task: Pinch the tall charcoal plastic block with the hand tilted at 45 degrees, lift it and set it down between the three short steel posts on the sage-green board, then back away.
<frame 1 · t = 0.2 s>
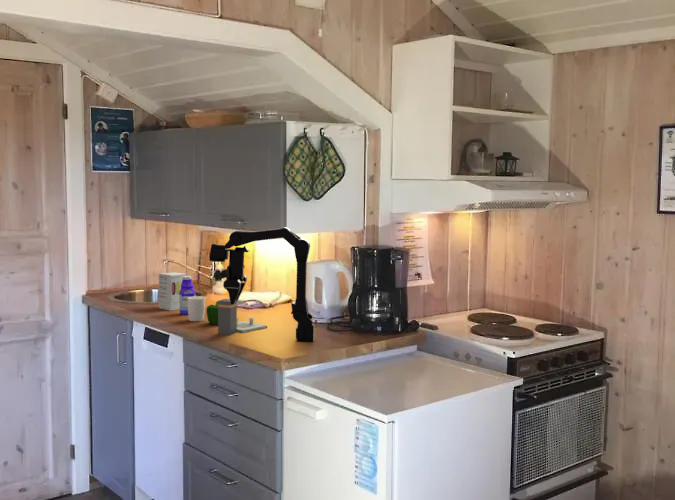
hand: (234, 302, 290), 14 cm above the countertop, tool pointing down, fingers open, 9 cm apart
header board: (243, 327, 311), on the countertop
bottle: (187, 314, 340), on the countertop
supplement box: (172, 308, 353), on the countertop
plug block: (227, 333, 301), on the countertop
white cup: (196, 320, 326), on the countertop
bell pepper: (216, 324, 319), on the countertop
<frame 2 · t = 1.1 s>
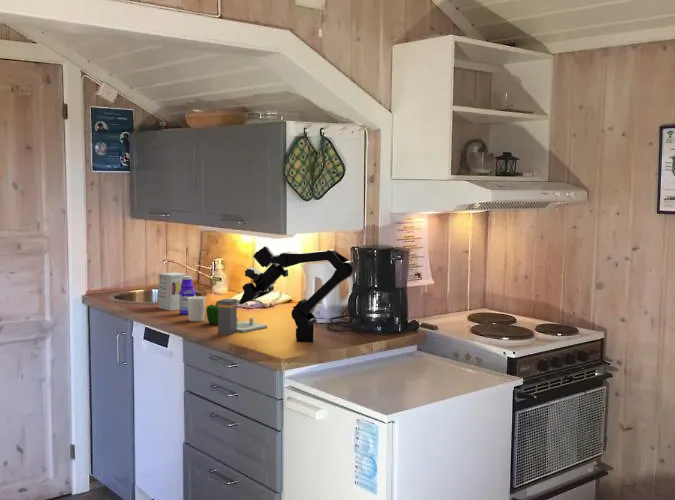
hand: (245, 301, 297), 13 cm above the countertop, tool tilted 45°, fingers open, 9 cm apart
nothing on the countertop moved.
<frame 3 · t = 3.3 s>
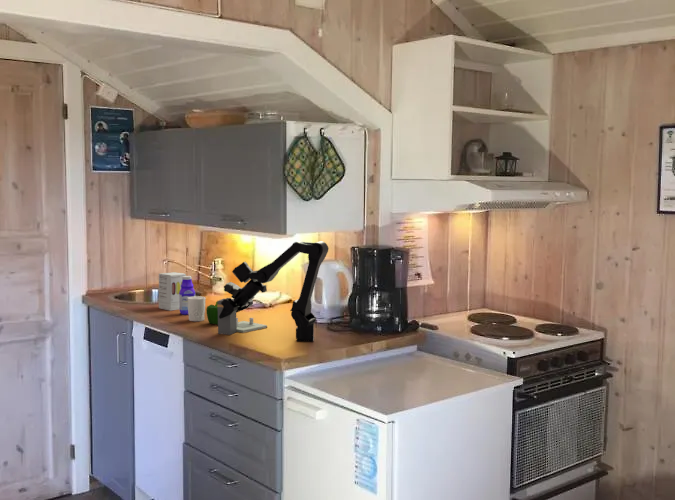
hand: (224, 316, 301), 7 cm above the countertop, tool tilted 45°, fingers open, 8 cm apart
plug block: (227, 332, 301), on the countertop, touching gripper
everything else where it was.
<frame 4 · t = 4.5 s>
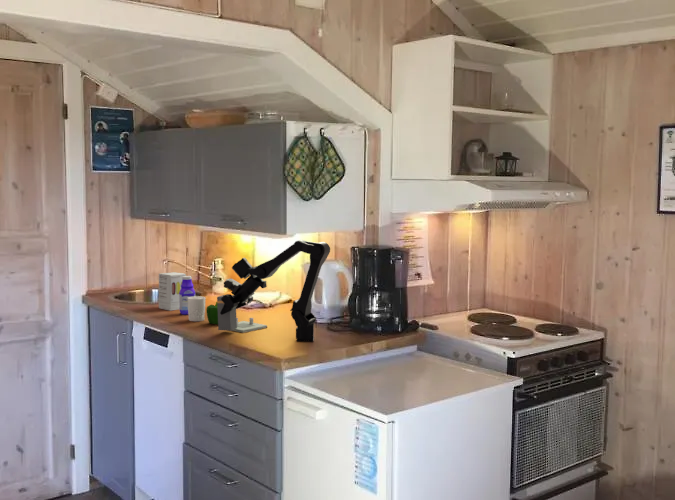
hand: (224, 312, 300), 8 cm above the countertop, tool tilted 45°, fingers closed on plug block, 5 cm apart
plug block: (227, 329, 301), point 2 cm above the countertop, touching gripper
everything else where it was.
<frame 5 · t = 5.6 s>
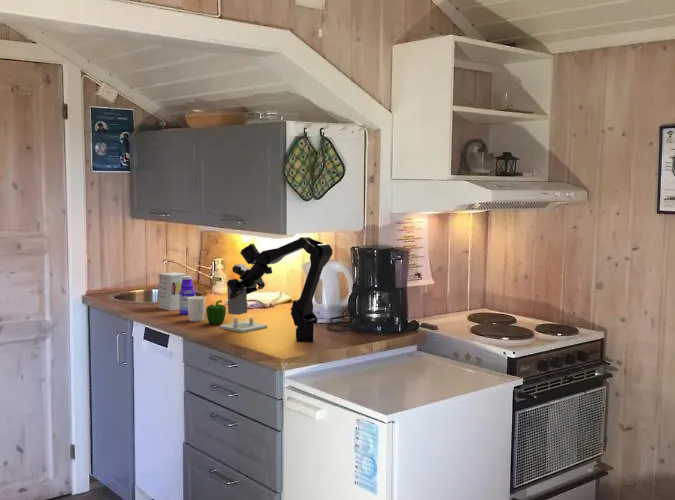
hand: (235, 297, 308), 13 cm above the countertop, tool tilted 45°, fingers closed on plug block, 5 cm apart
plug block: (237, 313, 307), point 7 cm above the countertop, touching gripper
everything else where it was.
when the fingers open (9 cm above the countertop, at t = 7.4 s): plug block drops 1 cm, resting on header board.
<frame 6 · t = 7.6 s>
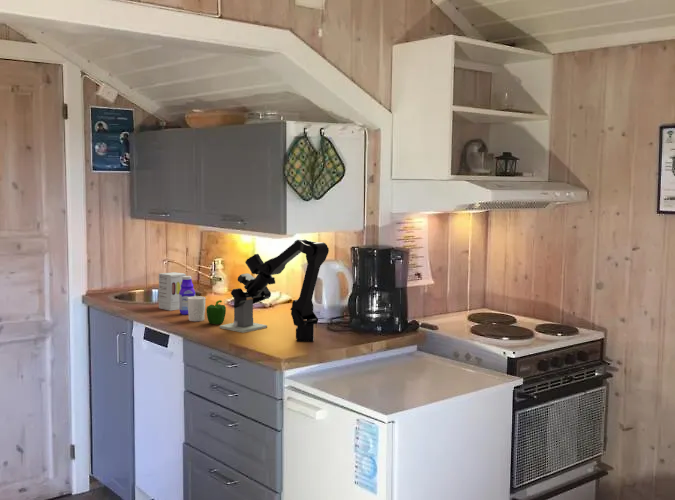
hand: (241, 306, 311), 9 cm above the countertop, tool tilted 45°, fingers open, 8 cm apart
plug block: (243, 325, 311), point 1 cm above the countertop, touching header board
everything else where it was.
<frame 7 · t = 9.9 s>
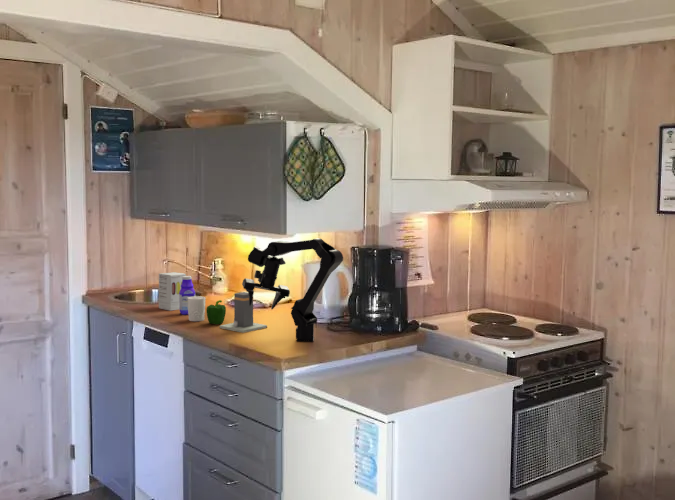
hand: (260, 307, 299), 11 cm above the countertop, tool tilted 15°, fingers open, 9 cm apart
nothing on the countertop moved.
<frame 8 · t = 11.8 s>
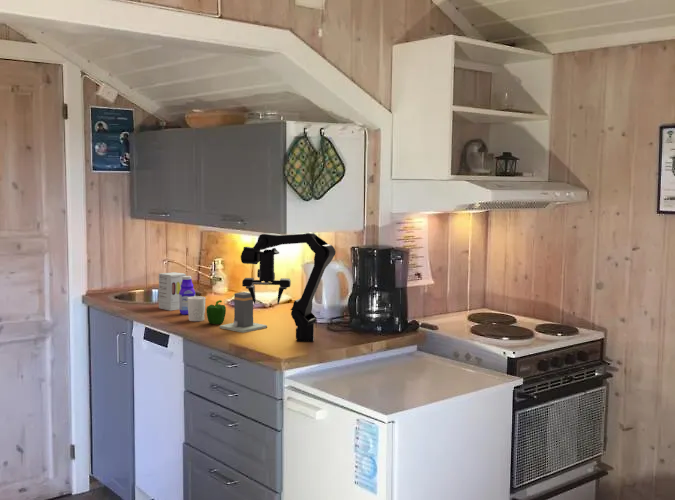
hand: (266, 304, 295), 13 cm above the countertop, tool pointing down, fingers open, 9 cm apart
nothing on the countertop moved.
at the end: plug block 0.1 cm off-centre on the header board, point 1.1 cm above the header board's base; plug block tilted 0°; the gripper is holding nothing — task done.
